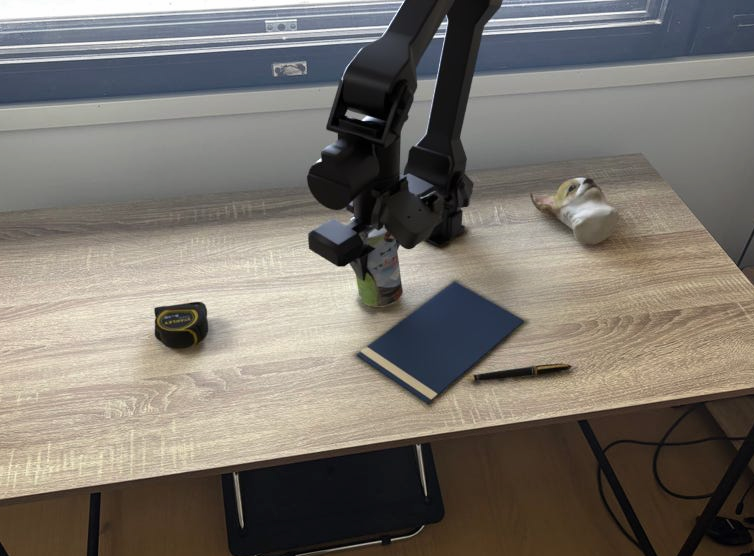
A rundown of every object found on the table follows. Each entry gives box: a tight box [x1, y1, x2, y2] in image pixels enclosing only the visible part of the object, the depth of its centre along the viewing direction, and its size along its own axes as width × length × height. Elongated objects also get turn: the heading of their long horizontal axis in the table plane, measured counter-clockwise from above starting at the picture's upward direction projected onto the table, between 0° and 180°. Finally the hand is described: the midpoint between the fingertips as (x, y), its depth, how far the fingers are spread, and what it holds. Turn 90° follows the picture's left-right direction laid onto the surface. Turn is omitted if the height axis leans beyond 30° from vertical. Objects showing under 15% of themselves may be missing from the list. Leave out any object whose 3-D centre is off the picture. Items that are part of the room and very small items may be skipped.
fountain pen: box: [462, 363, 573, 382], centre depth 91 cm, size 14×1×2 cm, turn 99°
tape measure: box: [153, 301, 209, 350], centre depth 95 cm, size 7×7×4 cm
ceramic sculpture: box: [529, 177, 621, 245], centre depth 111 cm, size 11×9×15 cm
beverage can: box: [355, 226, 404, 308], centre depth 98 cm, size 6×7×12 cm
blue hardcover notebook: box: [356, 281, 525, 405], centre depth 96 cm, size 12×20×1 cm, turn 136°
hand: (375, 270), depth 98 cm, fingers closed on beverage can, 5 cm apart
